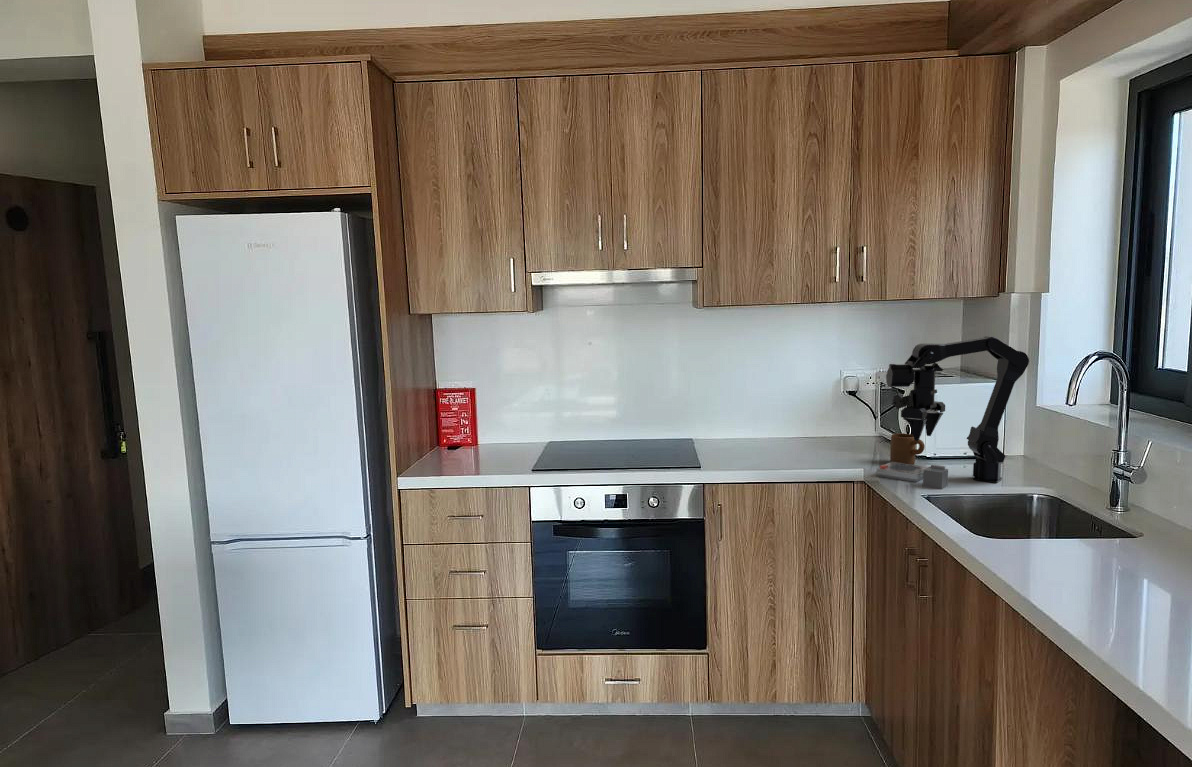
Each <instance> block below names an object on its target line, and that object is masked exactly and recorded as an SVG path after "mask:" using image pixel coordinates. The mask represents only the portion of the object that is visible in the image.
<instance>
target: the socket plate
mask: <svg viewBox="0 0 1192 767" xmlns="http://www.w3.org/2000/svg"><path fill="white" fill-rule="evenodd" d="M928 467H929V466H926V465H919V464H906V463H898V462H888V463H885V464H882V465H881V464H880V466H879V467H876V477H882V478H885V479H887V478H888V479H894V480H901V481H906V482H913V483H918V482H920V481H923V470H924V469H926V468H928Z"/></svg>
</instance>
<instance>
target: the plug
mask: <svg viewBox="0 0 1192 767" xmlns="http://www.w3.org/2000/svg"><path fill="white" fill-rule="evenodd" d="M927 467H928V468H926V469H924V470H923V479H922V487H925V488H931V489H938V490H943V489H944V488H946V487H948V482H949V481H948V480H949V469H948V468H946V465H940V464H933V463H932V464H930V466H927Z"/></svg>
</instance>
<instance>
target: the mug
mask: <svg viewBox="0 0 1192 767" xmlns="http://www.w3.org/2000/svg"><path fill="white" fill-rule="evenodd" d="M917 445H918V449H917V447H916V446H917ZM889 447H890V451H889V452H890V455H889V456H890V457H889V459H890V460H889V461H890V462H898V463H906V464H913V465H915V463H916V456H917V455H921V454H922V453H924V450H925V447H926V446H925V443H924V441H923V440H921V439H919V441H915V440H914V437H913V434H911V433H903V432H902V433H899V432H898V433H892V434H891V436H890V446H889Z"/></svg>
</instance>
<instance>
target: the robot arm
mask: <svg viewBox="0 0 1192 767" xmlns="http://www.w3.org/2000/svg"><path fill="white" fill-rule="evenodd" d="M981 352H982V353H983V352H988V353H989V355H990V356H992V358H994V359H996V360H997V364H996V373H997V374H996V376H997V378H996V380H995V383H994V385H993V388H992V392H991V394H990V398H989V400H988V403H987V406H986V408H985V412H984V414H983V417H982V420H981V422H980V423H979V425H977V426H976V427H975V426H971V427H970V429H969V430H970V431H969V434H968V436H967V437H966V440H967V446H968V449H970V450H971V452H972V453H973V456H974V457H975V462H974V463H973V467H972V468H973V470H972V480H973V481H979V482H980V481H981V482H988V483H992V484H993V483H994V484H998V482H1000V481H1001V480H1003V477H1001V476H1002V474H1001V472H1002V470H1001V469H1002V463H1004V461H1005V459H1006V455H1005V454H1004V453H1003V452H1002V451H1001V450H1000V449H999V448H998V445H999V438H1000V437H999V426H1000V423H1001V421H1002V418H1003V415H1004V413H1005V410H1006V408H1007V404H1008V402H1009V400H1010V397H1011V395H1012V394H1011V393H1012V392H1013V389H1014V386H1015V384H1016V382H1017V381H1018V380H1019V379H1020V378H1021V377H1022V376H1023V374H1025V371H1026V370H1027V368H1028V366H1029V363H1030V358H1029V356H1028V355H1027V354H1026V352H1024V351H1020V350H1016V349H1015V348H1013V347H1011V346H1010V345H1008V344H1007V343H1004V342H1002V341H1001V340H1000V339H999V338H998V337H996V336H990V335H988V336H982V337H978V338H972V339H967V340H960V341H953V342H950V343H949V342H948V343H919V344H917V345H915V346H914V347H913V348H912V352H911V354H910V356H909V358H908V359H907V360H906V361H905V362H904V363H903V364H900V363H899V364H896V363H889V364H888V365H889V366H888V369H887V372H886V374H885V377H886V378H885V380H886V385H887V387H889V388H898V387H899V388H901V387H904V388H905V387H910V386H911V385H913V389H911V390H910V391H909V394H907V395H905V396H903V395H902V394H897V395H893V399H892V403H891V404H892V406H895V409H896V410H899V409H901V408H902V409H901V410H900V417H901V418H902V419H903V420H904V421H906V423H908V424H909V426H910V429H911V432H912V435H913V437H914V440H915V441H919V439H920V438H921V436H922V433H923V431H924V428H925V433H926V436H927V437H931V436H932V435H933V432H934V431H935V428H936V426H937V425H938V423H939V421H940V419H941V417H942V416H943V415H944V412H946V404H945V403H944V402H943V401H935V396H936V395H935V394H937V393H938V389H935V387H936V385H935V384H936V372H944V369H943V368H942V367H941V366H940V365H939V362H942V361H943V360H945V359H946V360H947V359H948V358H950V357H956V356H961V355H969V354H974V353H981ZM920 440H921V439H920Z"/></svg>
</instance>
